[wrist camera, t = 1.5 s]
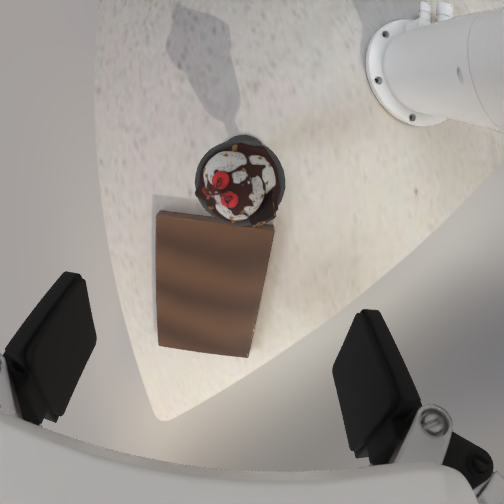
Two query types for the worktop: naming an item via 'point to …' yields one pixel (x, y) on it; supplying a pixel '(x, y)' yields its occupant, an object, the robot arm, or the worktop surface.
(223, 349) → the serving board
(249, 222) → the sundae
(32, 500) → the robot arm
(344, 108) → the worktop surface
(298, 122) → the worktop surface
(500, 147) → the worktop surface
